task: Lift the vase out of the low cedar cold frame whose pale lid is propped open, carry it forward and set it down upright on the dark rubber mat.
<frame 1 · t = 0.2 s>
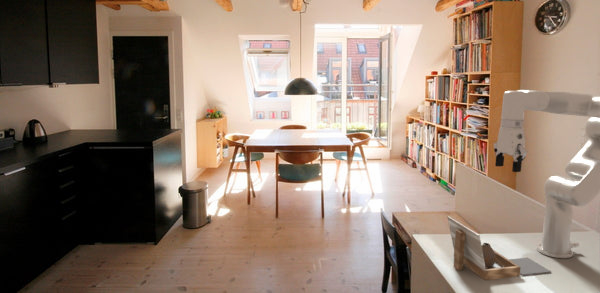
hand: (507, 168, 160), 36 cm above the table, tool pointing down, fingers open, 9 cm apart
mat: (524, 266, 158), on the table
cold frame: (485, 265, 160), on the table
vase: (484, 266, 160), resting in cold frame
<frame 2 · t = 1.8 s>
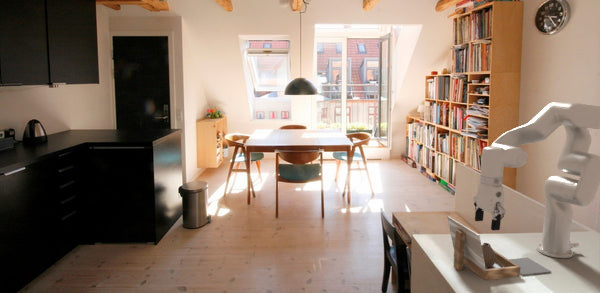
hand: (486, 225, 157), 16 cm above the table, tool pointing down, fingers open, 9 cm apart
nothing on the table moved.
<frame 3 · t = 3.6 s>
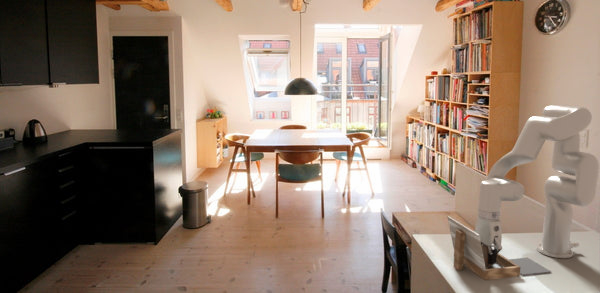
hand: (485, 258, 159), 3 cm above the table, tool pointing down, fingers closed on vase, 6 cm apart
vase: (484, 266, 160), resting in cold frame, touching gripper
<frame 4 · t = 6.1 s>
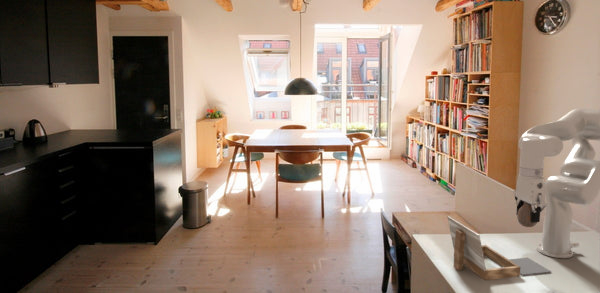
hand: (527, 218, 156), 19 cm above the table, tool pointing down, fingers closed on vase, 6 cm apart
vase: (527, 225, 156), point 16 cm above the table, touching gripper
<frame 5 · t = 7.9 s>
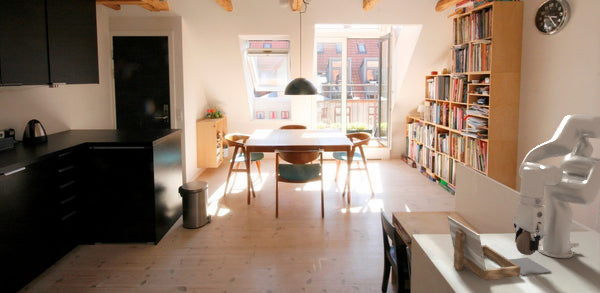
hand: (526, 246, 157), 8 cm above the table, tool pointing down, fingers closed on vase, 6 cm apart
vase: (525, 253, 157), point 5 cm above the table, touching gripper
when the fingers open (5 cm above the table, at t = 9.1 s): vase drops 1 cm, resting on mat.
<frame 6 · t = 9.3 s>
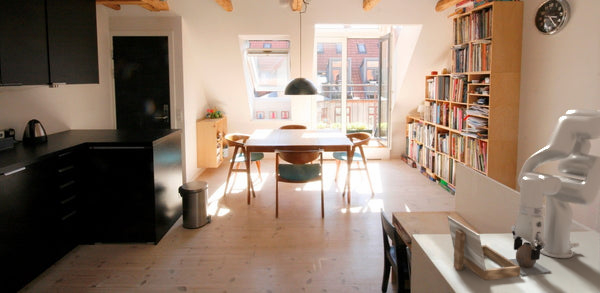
hand: (526, 254, 158), 5 cm above the table, tool pointing down, fingers open, 8 cm apart
vase: (525, 265, 158), resting on mat
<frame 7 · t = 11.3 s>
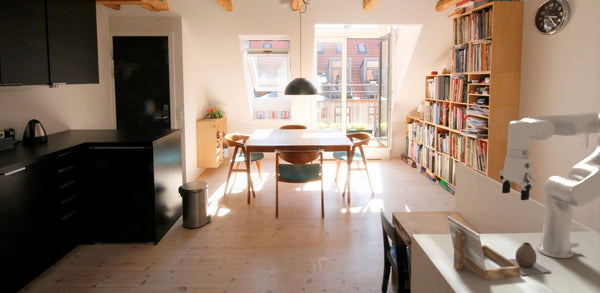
hand: (515, 196, 164), 25 cm above the table, tool pointing down, fingers open, 9 cm apart
nothing on the table moved.
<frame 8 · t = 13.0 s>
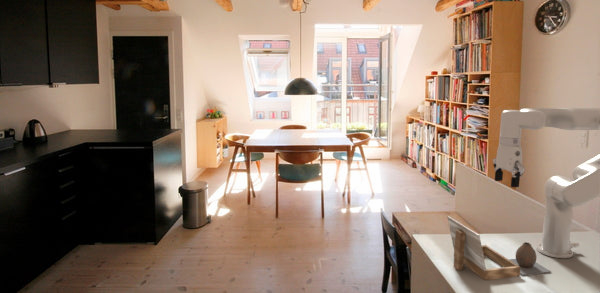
hand: (506, 183, 168), 28 cm above the table, tool pointing down, fingers open, 9 cm apart
nothing on the table moved.
at the end: vase inside the target area on the mat (0.1 cm from its centre), point 0.3 cm above the mat's base; vase tilted 0°; the gripper is holding nothing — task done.
